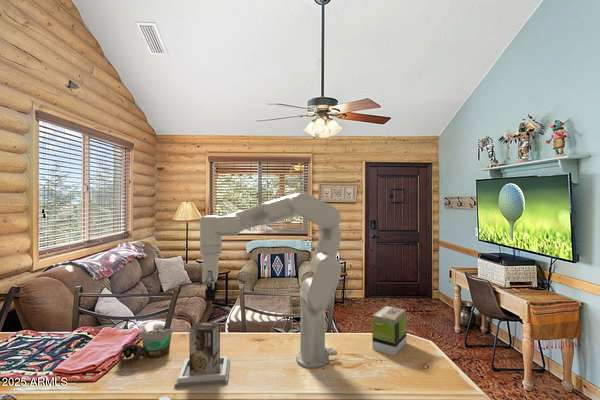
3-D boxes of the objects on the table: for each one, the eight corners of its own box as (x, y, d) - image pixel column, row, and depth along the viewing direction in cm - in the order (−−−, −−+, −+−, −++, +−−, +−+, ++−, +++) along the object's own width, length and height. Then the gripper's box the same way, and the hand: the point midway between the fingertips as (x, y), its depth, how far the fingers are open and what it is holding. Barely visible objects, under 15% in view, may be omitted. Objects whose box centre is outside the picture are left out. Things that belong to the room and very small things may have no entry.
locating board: (229, 361, 123) (229, 354, 123) (227, 383, 108) (227, 376, 108) (183, 364, 121) (183, 358, 121) (174, 387, 106) (174, 380, 106)
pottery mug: (153, 361, 124) (147, 348, 120) (130, 381, 117) (123, 368, 113) (136, 346, 130) (130, 332, 126) (113, 364, 124) (106, 351, 119)
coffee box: (220, 367, 117) (221, 323, 117) (213, 377, 110) (213, 330, 110) (197, 365, 118) (197, 321, 118) (188, 374, 112) (188, 328, 112)
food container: (140, 363, 121) (140, 336, 122) (139, 356, 127) (139, 330, 127) (174, 356, 127) (175, 330, 127) (173, 349, 133) (173, 325, 133)
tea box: (384, 337, 146) (385, 304, 146) (407, 343, 140) (407, 309, 140) (371, 349, 134) (371, 314, 134) (395, 356, 128) (395, 319, 128)
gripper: (203, 246, 125) (203, 290, 125) (197, 253, 108) (197, 304, 108) (222, 245, 126) (223, 289, 126) (220, 252, 109) (220, 303, 109)
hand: (211, 296), depth 117 cm, fingers open, 9 cm apart
